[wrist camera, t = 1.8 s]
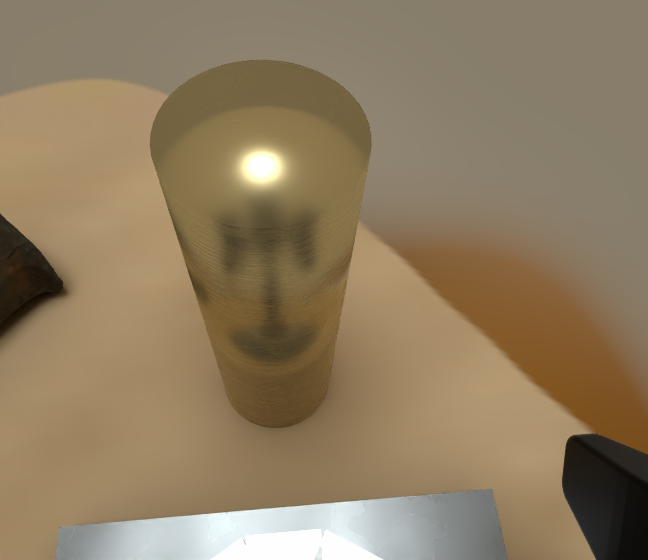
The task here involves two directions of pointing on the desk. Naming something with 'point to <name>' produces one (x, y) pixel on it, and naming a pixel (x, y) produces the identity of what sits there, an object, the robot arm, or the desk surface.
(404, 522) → the plate with ring collar
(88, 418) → the desk surface
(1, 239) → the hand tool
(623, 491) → the robot arm
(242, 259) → the brass hinge pin
